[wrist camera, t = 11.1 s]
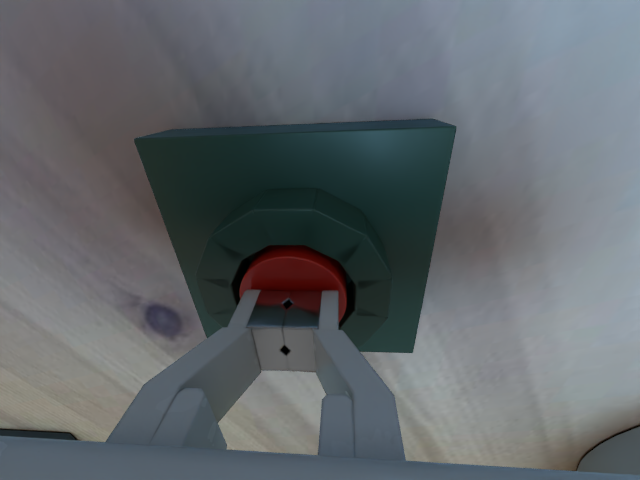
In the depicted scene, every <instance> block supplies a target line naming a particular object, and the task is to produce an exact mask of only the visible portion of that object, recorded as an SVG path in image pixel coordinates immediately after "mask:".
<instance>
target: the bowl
mask: <svg viewBox="0 0 640 480" xmlns="http://www.w3.org/2000/svg"><path fill="white" fill-rule="evenodd" d="M577 471H581V472H597V473H614V474H630V475H640V427H637V428H634V429H632V430H629V431H627V432H624V433H622V434H619V435H617V436H615V437H613V438H611V439H609V440H607V441H605V442H604V443H602V444H600V445H599V446H597V447H596V448H595V449H593V450H592V451H590V452H589V453H588V454H587V455H586V456H585V457H584V458H583V459H582V461H581V462H580V464H579V466H578V469H577Z"/></svg>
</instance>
